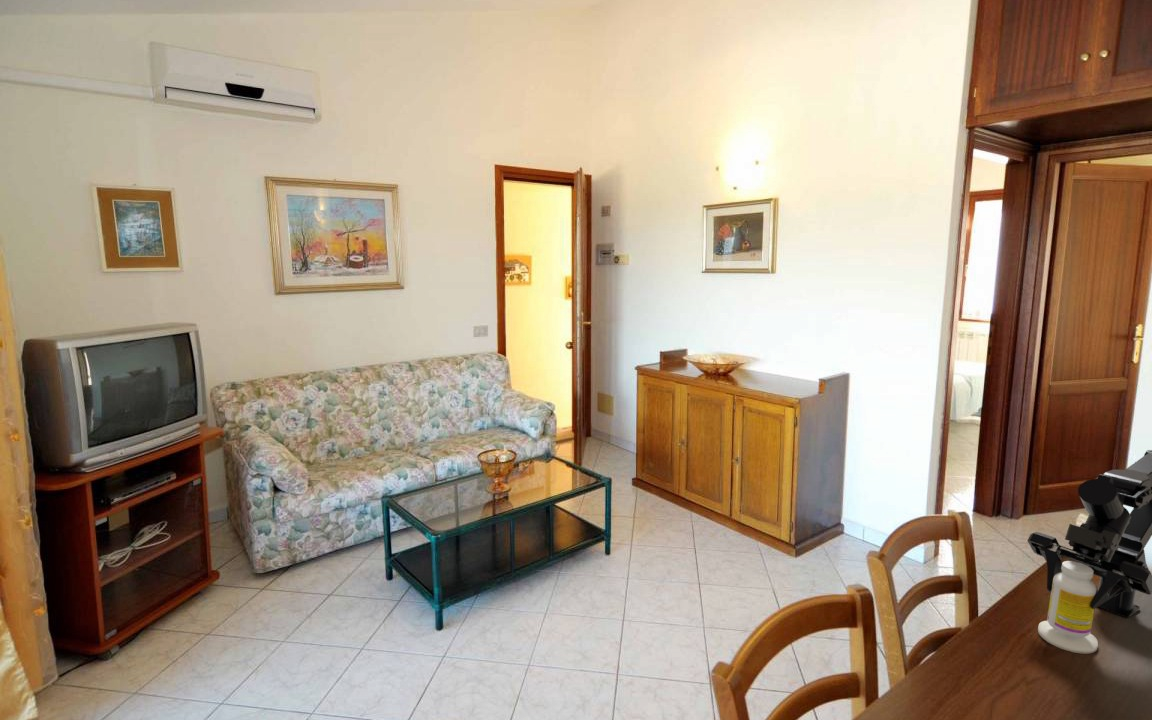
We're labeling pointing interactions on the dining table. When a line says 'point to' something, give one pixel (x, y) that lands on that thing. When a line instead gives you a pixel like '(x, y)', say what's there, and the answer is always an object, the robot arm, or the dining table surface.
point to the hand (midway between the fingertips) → (1069, 598)
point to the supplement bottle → (1072, 600)
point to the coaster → (1067, 640)
